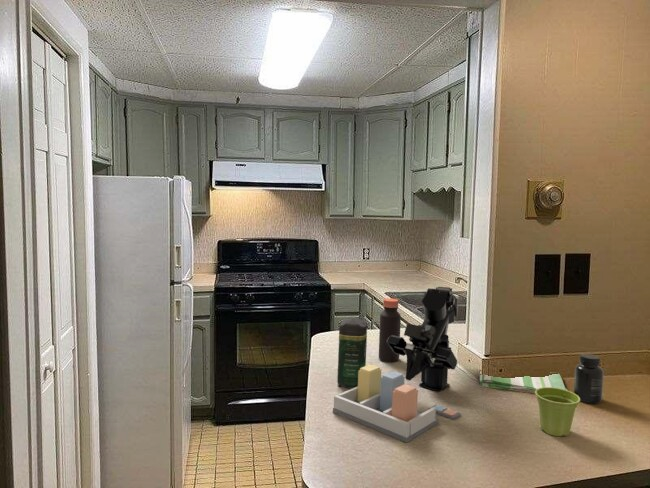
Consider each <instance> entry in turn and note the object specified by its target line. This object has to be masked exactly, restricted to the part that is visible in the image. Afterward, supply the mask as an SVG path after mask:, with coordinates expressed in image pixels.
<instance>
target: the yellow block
mask: <svg viewBox="0 0 650 488" xmlns="http://www.w3.org/2000/svg"><path fill="white" fill-rule="evenodd" d="M381 378H382V368H381V367H380V366H377V365H374V364H372V363H371V364H368V365H366V366H365V367H362V368H360V370H359V371H358V402H362V401H364V400H366V399H368V398H371V397H373V396H375V395H377V394H379V393H380V387H381Z"/></svg>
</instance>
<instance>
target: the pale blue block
mask: <svg viewBox="0 0 650 488" xmlns="http://www.w3.org/2000/svg"><path fill="white" fill-rule="evenodd" d="M404 384H405V376H404V374H403V373H401V372H396V371H390V372H388V373H385V374H381V387H380V410H382V411H385V410H387V409H389V408H391V407H392V396H393V391H394V389H395V388H397V387H400V386H402V385H404Z"/></svg>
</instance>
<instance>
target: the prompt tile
mask: <svg viewBox="0 0 650 488" xmlns="http://www.w3.org/2000/svg"><path fill="white" fill-rule="evenodd" d="M431 408H436V413H435V415H439V416H443V417H445V418H447V419H451V420H456V419H457V418H460V417H461V415H462V412H459V411H456V410H453V409H451V408H447V407H444V406H441V405H438V404H434V405H432V406H431V407H429V408H428V410H429V409H431Z"/></svg>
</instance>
